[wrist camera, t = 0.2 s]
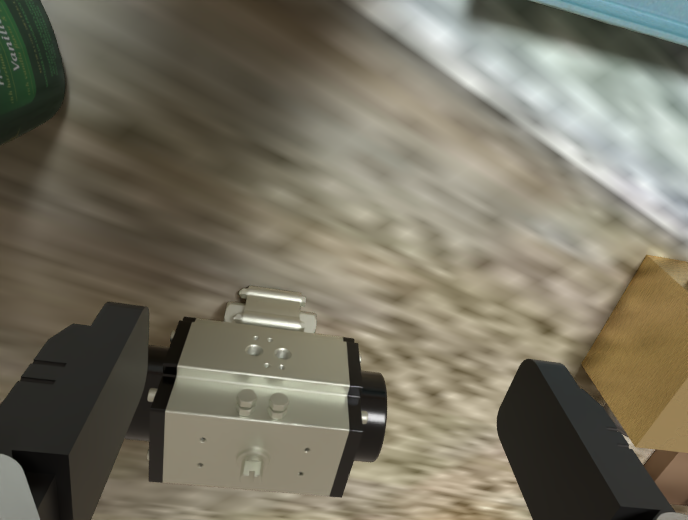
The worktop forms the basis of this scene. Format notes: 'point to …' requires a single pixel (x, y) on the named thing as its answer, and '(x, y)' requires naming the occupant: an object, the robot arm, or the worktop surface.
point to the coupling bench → (670, 474)
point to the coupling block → (647, 357)
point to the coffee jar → (27, 68)
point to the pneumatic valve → (259, 401)
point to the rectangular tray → (634, 15)
